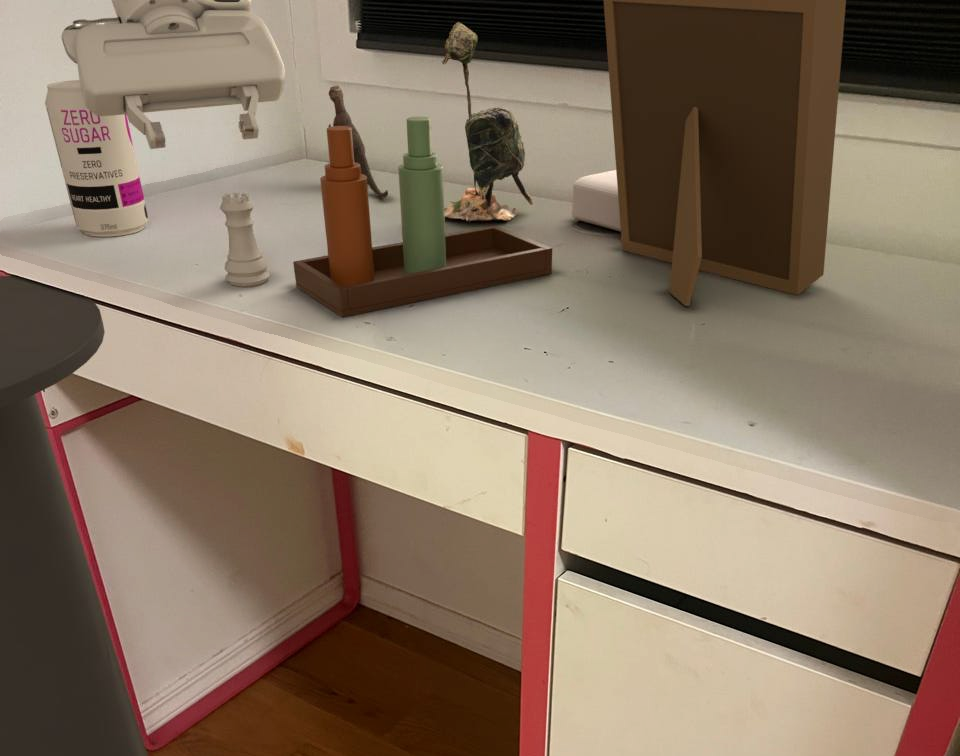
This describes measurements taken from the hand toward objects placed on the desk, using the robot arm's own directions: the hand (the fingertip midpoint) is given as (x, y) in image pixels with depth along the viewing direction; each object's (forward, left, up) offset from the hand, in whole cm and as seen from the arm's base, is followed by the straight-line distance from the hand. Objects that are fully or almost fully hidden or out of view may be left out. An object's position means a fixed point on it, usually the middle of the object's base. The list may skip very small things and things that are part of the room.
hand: (205, 139), depth 96 cm
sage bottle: (+14, -19, -11) cm, 26 cm away
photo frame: (+36, -33, -12) cm, 50 cm away
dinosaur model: (+26, +19, -12) cm, 35 cm away
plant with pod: (+32, -2, -12) cm, 34 cm away
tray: (+14, -19, -12) cm, 26 cm away
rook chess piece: (-1, -9, -12) cm, 15 cm away
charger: (+45, -16, -12) cm, 49 cm away
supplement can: (-7, +19, -12) cm, 24 cm away
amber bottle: (+6, -19, -11) cm, 23 cm away
